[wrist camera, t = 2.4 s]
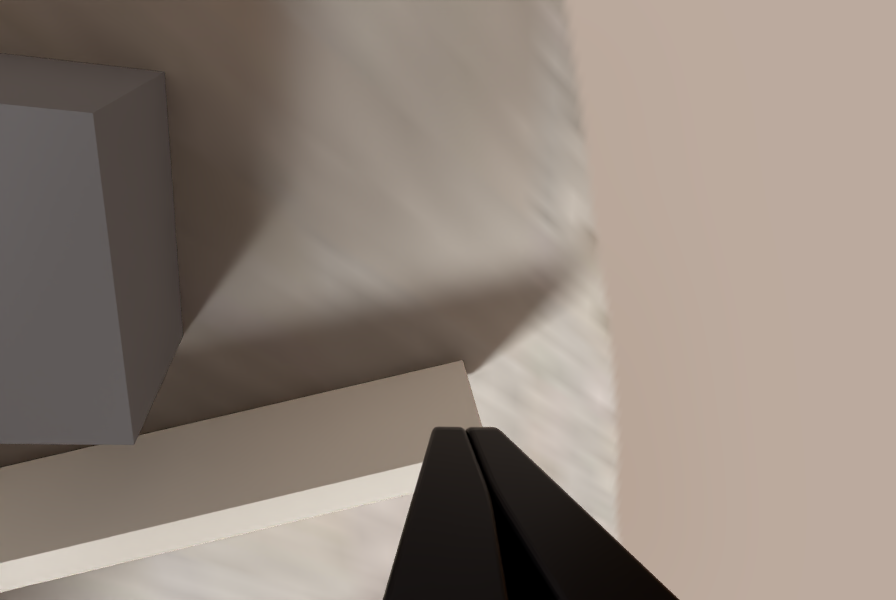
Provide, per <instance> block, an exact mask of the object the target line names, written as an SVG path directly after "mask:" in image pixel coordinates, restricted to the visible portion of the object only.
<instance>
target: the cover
mask: <svg viewBox="0 0 896 600" xmlns="http://www.w3.org/2000/svg"><path fill="white" fill-rule="evenodd" d="M438 426H440V427H462V428H463V429H465V430H466V429H467V428H469V427H482V424H481V420H480V417H479V414H478V410H477V407H476V403H475V400H474V397H473V393H472V390H471V387H470V383H469V380H468V376H467V373H466V370H465V366H464V363H463V360H461V361H457V362H452V363H448V364H444V365H440V366H435V367H431V368H427V369H422V370H418V371H414V372H410V373H405V374H401V375H397V376H392V377H388V378H384V379H379V380H375V381H371V382H367V383H362V384H358V385H354V386H349V387H345V388H341V389H336V390H332V391H328V392H324V393H319V394H315V395H311V396H306V397H302V398H298V399H293V400H289V401H285V402H281V403H276V404H272V405H268V406H263V407H259V408H255V409H251V410H246V411H242V412H238V413H233V414H229V415H225V416H220V417H216V418H212V419H208V420H203V421H199V422H195V423H190V424H186V425H182V426H177V427H173V428H169V429H165V430H160V431H156V432H152V433H147V434H143V435H139V436H138V437H137V440H136V442H135V444H134V445H96V446H92V447H87V448H83V449H79V450H74V451H70V452H66V453H61V454H57V455H53V456H49V457H44V458H40V459H36V460H31V461H27V462H23V463H19V464H14V465H10V466H6V467H1V468H0V593H1V592H5V591H9V590H13V589H17V588H21V587H25V586H30V585H34V584H38V583H42V582H46V581H50V580H55V579H59V578H63V577H67V576H71V575H75V574H79V573H84V572H88V571H92V570H96V569H100V568H104V567H108V566H113V565H117V564H121V563H125V562H129V561H133V560H138V559H142V558H146V557H150V556H154V555H158V554H162V553H167V552H171V551H175V550H179V549H183V548H187V547H192V546H196V545H200V544H204V543H208V542H212V541H216V540H221V539H225V538H229V537H233V536H237V535H241V534H246V533H250V532H254V531H258V530H262V529H266V528H270V527H275V526H279V525H283V524H287V523H291V522H295V521H300V520H304V519H308V518H312V517H316V516H320V515H324V514H329V513H333V512H337V511H341V510H345V509H349V508H354V507H358V506H362V505H366V504H370V503H374V502H378V501H383V500H387V499H391V498H395V497H399V496H403V495H408V494H412V493H414V491H415V487H416V484H417V480H418V477H419V473H420V470H421V466H422V463H423V460H424V456H425V453H426V449H427V446H428V442H429V439H430V436H431V432H432V430H433V429H434V428H435V427H438Z"/></svg>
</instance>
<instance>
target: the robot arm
mask: <svg viewBox="0 0 896 600" xmlns="http://www.w3.org/2000/svg"><path fill="white" fill-rule="evenodd" d="M383 600H679V599H678V598H677V597H676V596H675V595H674V594H673V593H672V592H671V591H669V590H668V589H667V588H666V587H665V586H664V585H663V584H662V583H661V582H660V581H659V580H658V579H657V578H656V577H655V576H654V575H653V574H652V573H650V572H649V571H648V570H647V569H646V568H645V567H644V566H643V565H642V564H641V563H640V562H639V561H638V560H637V559H636V558H635V557H634V556H633V555H631V554H630V553H629V552H628V551H627V550H626V549H625V548H624V547H623V546H622V545H621V544H620V543H619V542H618V541H617V540H616V539H615V538H614V537H612V536H611V535H610V534H609V533H608V532H607V531H606V530H605V529H604V528H603V527H602V526H601V525H600V524H599V523H598V522H597V521H596V520H595V519H593V518H592V517H591V516H590V515H589V514H588V513H587V512H586V511H585V510H584V509H583V508H582V507H581V506H580V505H579V504H578V503H577V502H576V501H574V500H573V499H572V498H571V497H570V496H569V495H568V494H567V493H566V492H565V491H564V490H563V489H562V488H561V487H560V486H559V485H558V484H557V483H555V482H554V481H553V480H552V479H551V478H550V477H549V476H548V475H547V474H546V473H545V472H544V471H543V470H542V469H541V468H540V467H539V466H538V465H536V464H535V463H534V462H533V461H532V460H531V459H530V458H529V457H528V456H527V455H526V454H525V453H524V452H523V451H522V450H521V449H520V448H519V447H517V446H516V445H515V444H514V443H513V442H512V441H511V440H510V439H509V438H508V437H507V436H506V435H505V434H504V433H503V432H502V431H500V430H499V429H497V428H494V427H469V428H467V429H466V430H465V429H463V428H462V427H440V426H438V427H435V428H434V429H433V430H432V432H431V436H430V439H429V442H428V446H427V449H426V453H425V456H424V460H423V463H422V466H421V470H420V473H419V477H418V480H417V484H416V487H415V491H414V494H413V497H412V501H411V504H410V508H409V511H408V515H407V518H406V521H405V525H404V528H403V532H402V535H401V539H400V542H399V545H398V549H397V552H396V556H395V559H394V563H393V566H392V570H391V573H390V576H389V580H388V583H387V587H386V590H385V594H384V597H383Z"/></svg>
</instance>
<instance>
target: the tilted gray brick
mask: <svg viewBox="0 0 896 600" xmlns="http://www.w3.org/2000/svg"><path fill="white" fill-rule="evenodd" d="M182 337H183V327H182V313H181V299H180V285H179V270H178V256H177V242H176V228H175V213H174V199H173V185H172V171H171V156H170V142H169V128H168V114H167V99H166V85H165V72H161V71H152V70H144V69H135V68H126V67H117V66H108V65H100V64H91V63H82V62H73V61H64V60H56V59H47V58H38V57H29V56H21V55H12V54H3V53H0V444H79V445H134V444H135V442H136V440H137V437H138V435H139V433H140V431H141V428H142V426H143V424H144V422H145V420H146V417H147V415H148V413H149V411H150V408H151V406H152V404H153V402H154V399H155V397H156V395H157V393H158V390H159V388H160V386H161V384H162V382H163V379H164V377H165V375H166V373H167V370H168V368H169V366H170V364H171V361H172V359H173V357H174V355H175V353H176V350H177V348H178V346H179V344H180V341H181V339H182Z"/></svg>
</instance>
